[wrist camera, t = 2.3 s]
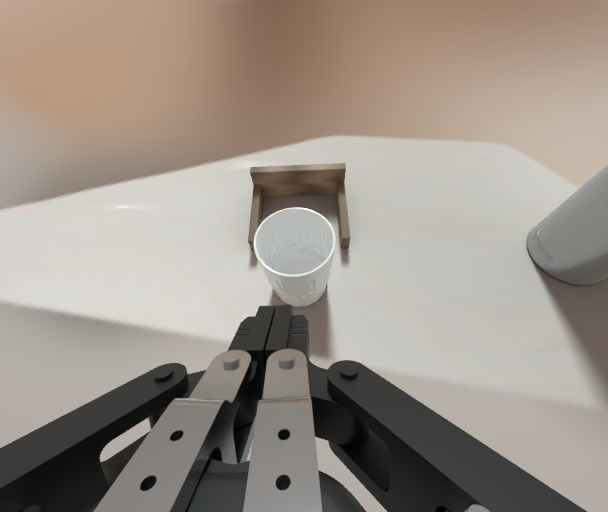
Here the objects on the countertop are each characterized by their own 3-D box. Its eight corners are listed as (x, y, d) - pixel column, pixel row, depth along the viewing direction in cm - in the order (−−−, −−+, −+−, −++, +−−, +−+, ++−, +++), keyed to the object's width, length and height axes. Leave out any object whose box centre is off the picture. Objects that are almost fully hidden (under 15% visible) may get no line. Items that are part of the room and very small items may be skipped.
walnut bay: (342, 188, 43) (344, 163, 38) (348, 247, 38) (352, 226, 33) (257, 192, 43) (250, 167, 39) (252, 250, 38) (243, 230, 34)
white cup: (284, 323, 33) (272, 291, 24) (260, 270, 37) (241, 225, 28) (342, 294, 35) (351, 254, 26) (313, 245, 38) (312, 196, 29)
